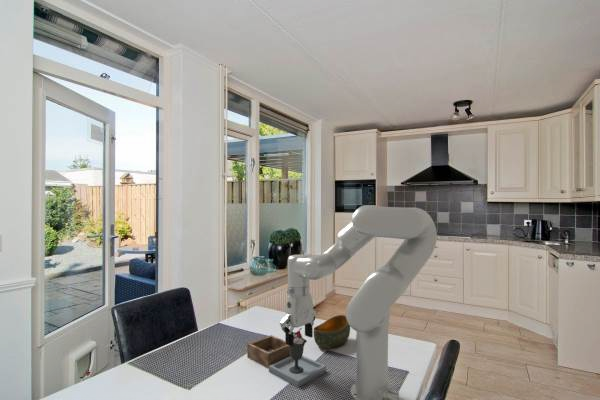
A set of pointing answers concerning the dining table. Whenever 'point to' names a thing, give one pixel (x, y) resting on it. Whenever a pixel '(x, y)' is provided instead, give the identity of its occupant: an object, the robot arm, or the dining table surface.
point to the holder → (260, 347)
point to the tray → (309, 373)
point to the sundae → (297, 351)
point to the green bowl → (332, 333)
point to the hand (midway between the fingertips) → (299, 340)
